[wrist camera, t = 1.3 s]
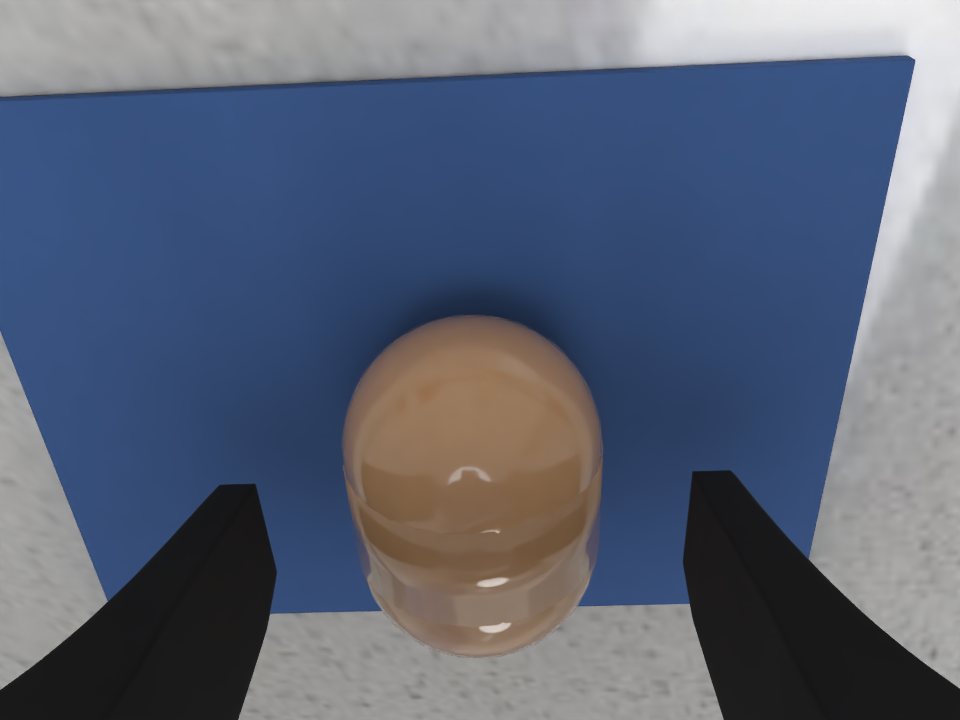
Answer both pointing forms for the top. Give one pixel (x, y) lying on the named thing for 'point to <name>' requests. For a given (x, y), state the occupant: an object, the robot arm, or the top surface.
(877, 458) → the top surface
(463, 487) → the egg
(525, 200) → the cloth
